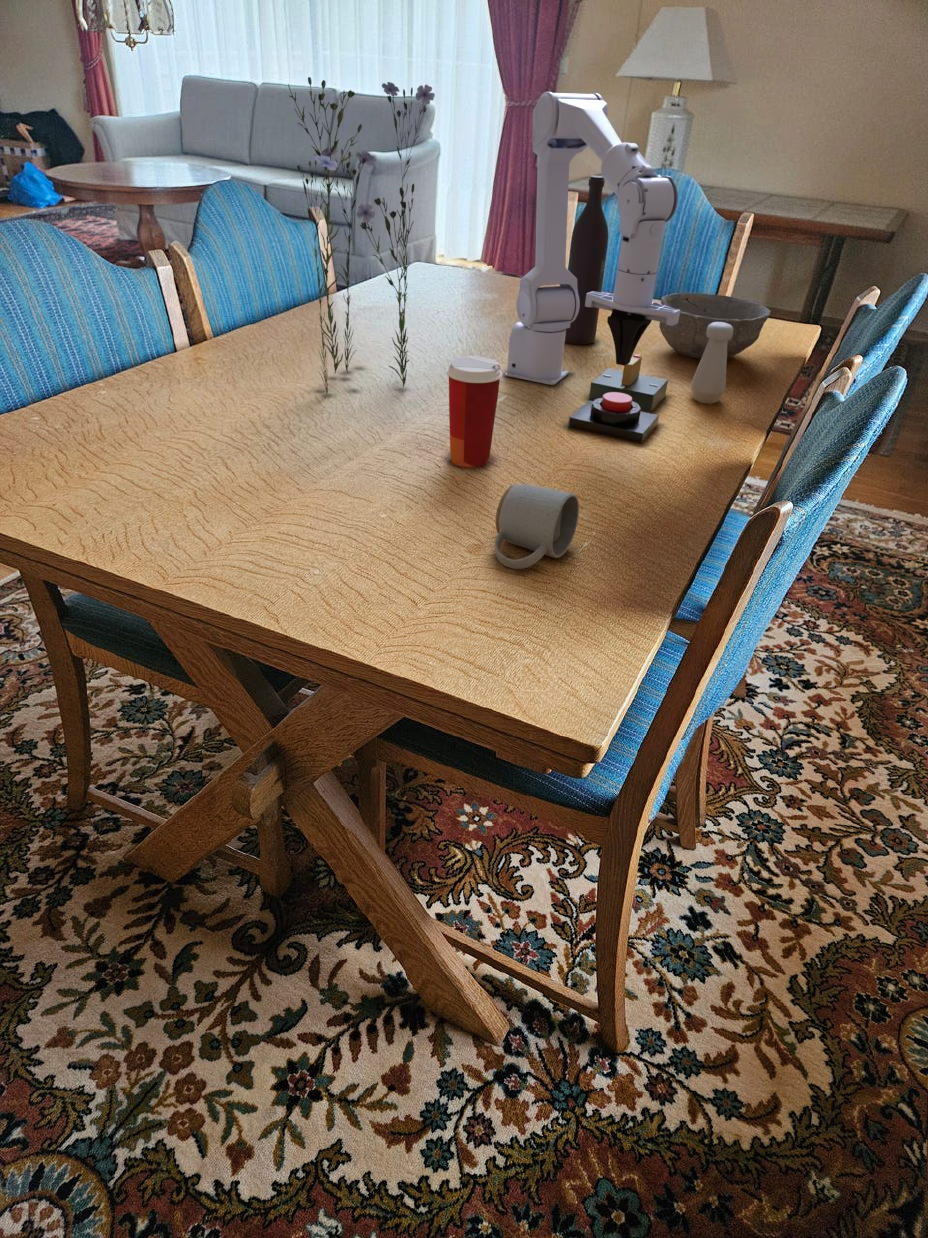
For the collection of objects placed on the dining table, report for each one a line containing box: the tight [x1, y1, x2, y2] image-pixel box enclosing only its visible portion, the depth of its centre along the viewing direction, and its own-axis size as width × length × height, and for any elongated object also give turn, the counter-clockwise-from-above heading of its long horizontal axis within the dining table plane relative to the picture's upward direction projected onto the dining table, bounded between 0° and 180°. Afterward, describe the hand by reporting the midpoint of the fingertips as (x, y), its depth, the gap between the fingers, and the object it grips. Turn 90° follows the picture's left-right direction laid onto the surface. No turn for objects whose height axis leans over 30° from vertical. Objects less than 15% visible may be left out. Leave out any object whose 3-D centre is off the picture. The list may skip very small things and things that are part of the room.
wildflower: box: [287, 76, 436, 396], centre depth 136 cm, size 22×23×45 cm
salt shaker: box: [690, 322, 733, 405], centre depth 146 cm, size 6×6×13 cm
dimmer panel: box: [588, 367, 669, 413], centre depth 148 cm, size 11×10×3 cm
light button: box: [602, 392, 632, 411], centre depth 135 cm, size 5×5×2 cm
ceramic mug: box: [493, 483, 580, 570], centre depth 101 cm, size 11×8×8 cm
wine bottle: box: [565, 175, 609, 346], centre depth 167 cm, size 7×7×30 cm
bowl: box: [658, 292, 771, 360], centre depth 168 cm, size 21×21×10 cm
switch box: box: [568, 398, 660, 444], centre depth 137 cm, size 12×9×4 cm
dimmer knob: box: [621, 353, 643, 386], centre depth 146 cm, size 6×1×4 cm, turn 153°
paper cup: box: [445, 355, 504, 468], centre depth 120 cm, size 8×8×14 cm
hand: (622, 363), depth 132 cm, fingers closed
